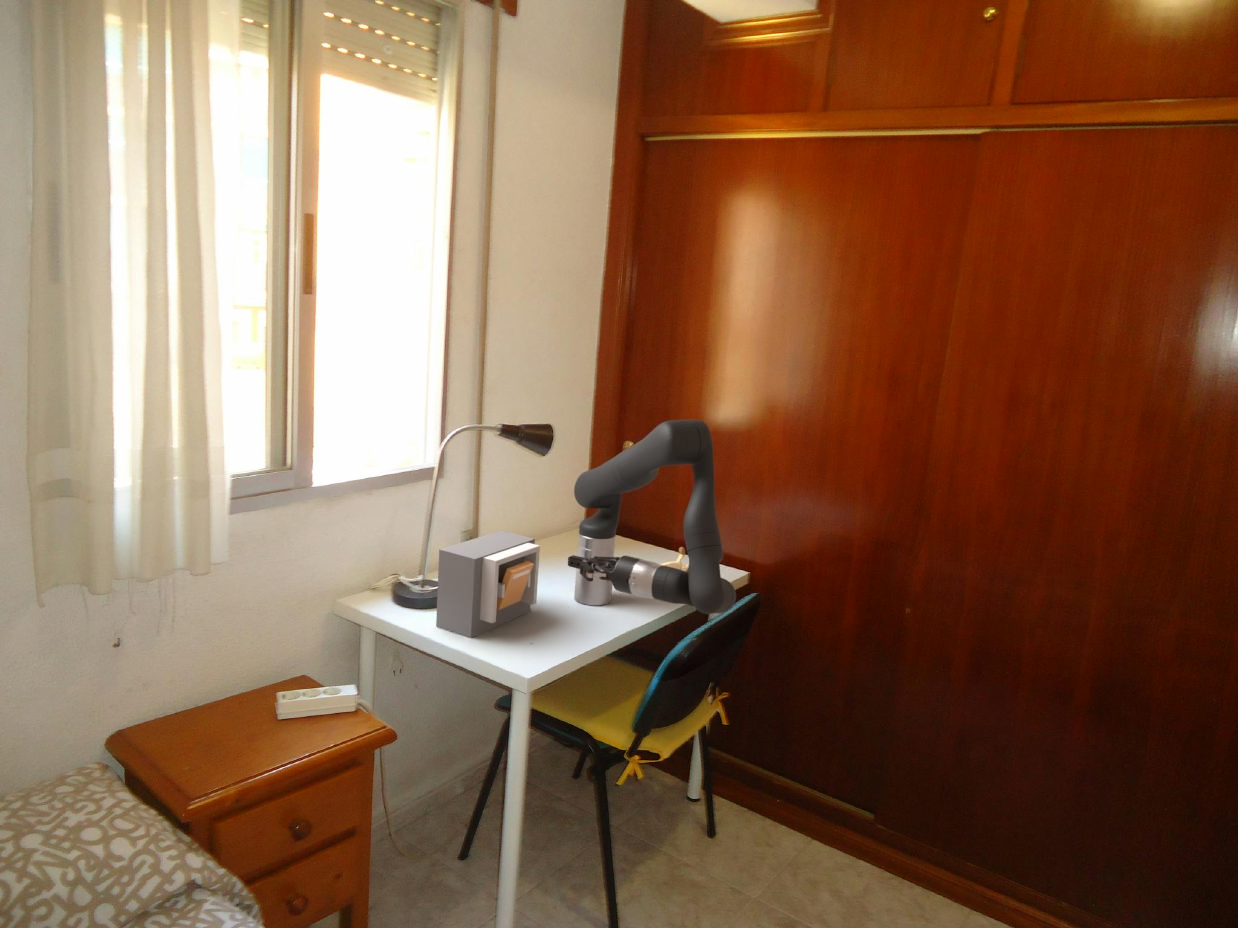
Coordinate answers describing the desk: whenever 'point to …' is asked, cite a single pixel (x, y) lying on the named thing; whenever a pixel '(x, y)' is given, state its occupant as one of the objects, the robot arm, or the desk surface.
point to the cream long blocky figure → (678, 562)
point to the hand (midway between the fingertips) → (569, 560)
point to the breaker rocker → (514, 584)
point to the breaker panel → (483, 582)
